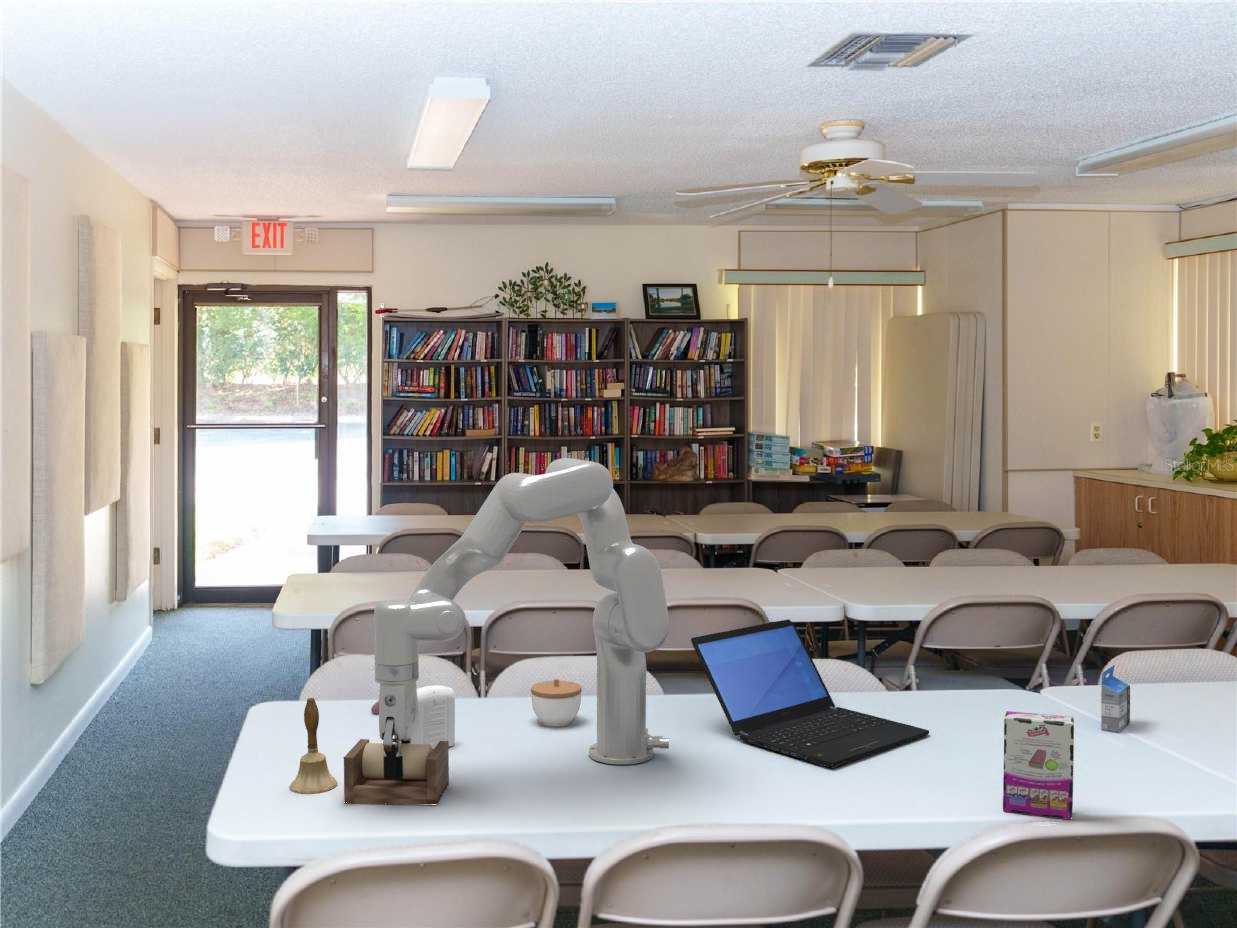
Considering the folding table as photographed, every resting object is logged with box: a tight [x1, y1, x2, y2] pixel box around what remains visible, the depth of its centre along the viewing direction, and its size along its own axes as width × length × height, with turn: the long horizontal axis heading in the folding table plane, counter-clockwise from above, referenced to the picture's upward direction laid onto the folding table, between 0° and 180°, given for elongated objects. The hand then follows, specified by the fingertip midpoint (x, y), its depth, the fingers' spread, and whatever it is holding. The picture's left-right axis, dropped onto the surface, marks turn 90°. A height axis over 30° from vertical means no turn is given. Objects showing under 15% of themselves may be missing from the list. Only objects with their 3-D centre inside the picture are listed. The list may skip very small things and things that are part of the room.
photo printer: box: [411, 684, 456, 750], centre depth 232 cm, size 10×4×12 cm, turn 123°
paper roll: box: [362, 742, 433, 779], centre depth 206 cm, size 11×6×6 cm, turn 87°
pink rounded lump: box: [370, 700, 379, 715], centre depth 260 cm, size 10×5×7 cm, turn 0°
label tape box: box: [1100, 665, 1131, 734], centre depth 248 cm, size 9×4×12 cm, turn 143°
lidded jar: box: [530, 678, 583, 728], centre depth 250 cm, size 11×11×9 cm
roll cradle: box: [343, 738, 450, 805], centre depth 206 cm, size 16×10×8 cm, turn 87°
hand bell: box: [289, 697, 338, 795], centre depth 210 cm, size 8×8×16 cm
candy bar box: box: [1002, 710, 1075, 820], centre depth 199 cm, size 11×5×16 cm, turn 69°
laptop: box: [690, 618, 930, 769], centre depth 244 cm, size 33×38×19 cm
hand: (398, 771), depth 206 cm, fingers closed on paper roll, 5 cm apart
